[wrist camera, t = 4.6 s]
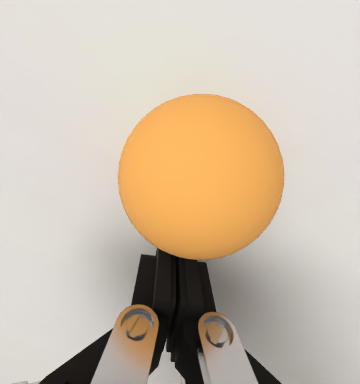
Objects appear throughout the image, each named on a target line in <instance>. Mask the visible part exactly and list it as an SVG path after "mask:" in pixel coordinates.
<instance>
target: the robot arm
mask: <svg viewBox="0 0 360 384" xmlns="http://www.w3.org/2000/svg"><path fill="white" fill-rule="evenodd" d="M166 338H167V342H166ZM165 342H166V351H167V352H171V362H175V368H176V369H177V370H178V372H179V373H180V374H181V384H281V383H280V382H279V381H278V380H277V379H276V378H275V377H274V376H273V375H272V374H271V373H270V372H269V371H267V370H266V369H265V368H264V367H263V366H262V365H261V364H260V363H259V362H258V361H257V360H256V359H255V358H254V357H252V356H251V355H250V354H249V353H248V352H247V351H246V350H245V349H244V348H243V345H242V343H241V340H240V338H239V335H238V333H237V330H236V328H235V327H234V325H233V323H232V322H231V321H230V320H229V319H228V318H227V317H225V316H224V315H223V314H220V313H218V312H216V308H215V303H214V299H213V294H212V289H211V284H210V279H209V274H208V269H207V265H206V263H205V262H198V261H197V260H194V259H186V258H181V257H178V256H175V255H172V254H169V253H167V252H165V251H162V250H161V249H159V248H157V251H156V256H151V255H143V254H141V258H140V263H139V269H138V274H137V279H136V284H135V289H134V294H133V299H132V304H131V306H129V307H127V308H125V309H124V310H123V311H122V312H121V313H120V315H119V317H118V318H117V321H116V323H115V325H114V328H113V329H111V330H110V331H109V332H107V333H106V334H104V335H103V336H102V337H100V338H99V339H97V340H96V341H95V342H93V343H92V344H91V345H89V346H88V347H86V348H85V349H84V350H82V351H81V352H80V353H78V354H77V355H75V356H74V357H73V358H71V359H70V360H68V361H67V362H66V363H64V364H63V365H62V366H60V367H59V368H57V369H56V370H55V371H53V372H52V373H50V374H49V375H48V376H46V377H45V378H44V379H43V380H42V381H39V382H34V383H29V384H147V380H148V376H149V375H150V374H151V373H152V372H153V371H154V370H155V369H156V368H157V367H158V365H159V361H160V357H161V353H162V352H163V349H164V346H165ZM13 384H28V381H23V382H18V383H13Z"/></svg>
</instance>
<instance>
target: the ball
mask: <svg viewBox="0 0 360 384" xmlns="http://www.w3.org/2000/svg"><path fill="white" fill-rule="evenodd" d="M118 184H119V193H120V197H121V201H122V204H123V207H124V209H125V211H126V213H127V215H128V217H129V219H130V221H131V223H132V224H133V225H134V227H135V228H136V229H137V231H138V232H139V233H140V234H141V235H142V236H143V237H144V238H145V239H146V240H147V241H149V242H150V243H151V244H152V245H154V246H156V247H157V248H159V249H161V250H162V251H165V252H167V253H169V254H172V255H175V256H178V257H181V258H186V259H194V260H209V259H214V258H220V257H224V256H227V255H230V254H232V253H235V252H237V251H239V250H241V249H242V248H244V247H246V246H247V245H249V244H250V243H251V242H252V241H254V240H255V239H256V238H258V237H259V236H260V234H261V233H262V232H263V231H264V230H265V229H266V227H267V226H268V225H269V224H270V222H271V220H272V219H273V217H274V215H275V213H276V211H277V209H278V206H279V204H280V201H281V197H282V192H283V187H284V167H283V160H282V156H281V153H280V150H279V147H278V144H277V142H276V140H275V138H274V136H273V134H272V132H271V131H270V130H269V128H268V127H267V126H266V124H265V123H264V122H263V121H262V120H261V119H260V118H259V117H258V116H257V115H256V114H255V113H254V112H253V111H251V110H250V109H248V108H247V107H245V106H243V105H242V104H240V103H238V102H236V101H234V100H231V99H229V98H225V97H222V96H217V95H210V94H193V95H187V96H182V97H178V98H175V99H173V100H170V101H167V102H165V103H163V104H162V105H160V106H158V107H156V108H155V109H153V110H152V111H151V112H150V113H148V114H147V115H146V116H145V117H144V118H143V119H142V120H141V121H140V122H139V123H138V124H137V125H136V127H135V128H134V130H133V131H132V133H131V134H130V136H129V137H128V139H127V141H126V143H125V146H124V148H123V151H122V154H121V158H120V162H119V172H118Z"/></svg>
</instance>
